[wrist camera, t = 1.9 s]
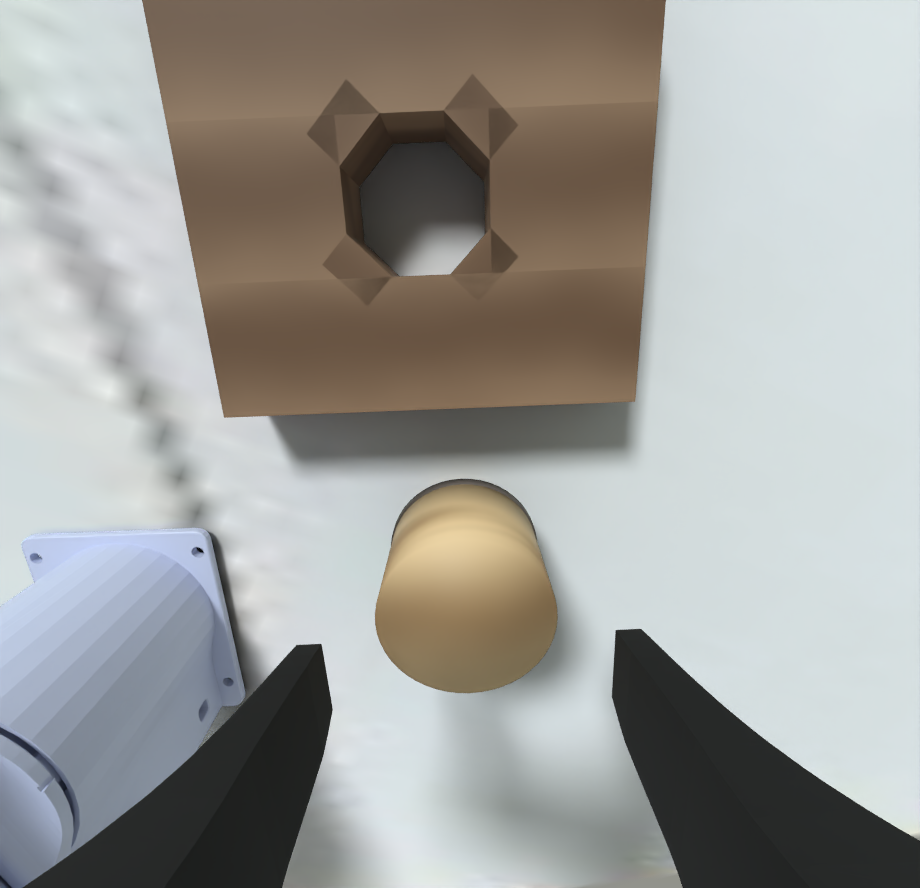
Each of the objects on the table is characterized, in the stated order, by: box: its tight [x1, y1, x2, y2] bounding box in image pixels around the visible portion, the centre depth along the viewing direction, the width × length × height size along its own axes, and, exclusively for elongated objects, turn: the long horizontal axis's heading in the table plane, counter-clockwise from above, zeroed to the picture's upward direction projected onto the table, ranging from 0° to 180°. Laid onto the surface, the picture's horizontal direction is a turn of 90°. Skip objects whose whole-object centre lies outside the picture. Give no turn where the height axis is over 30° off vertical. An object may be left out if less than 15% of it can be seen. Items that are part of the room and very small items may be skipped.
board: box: [142, 0, 666, 418], centre depth 16 cm, size 13×14×3 cm
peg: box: [375, 479, 558, 693], centre depth 17 cm, size 6×6×7 cm
